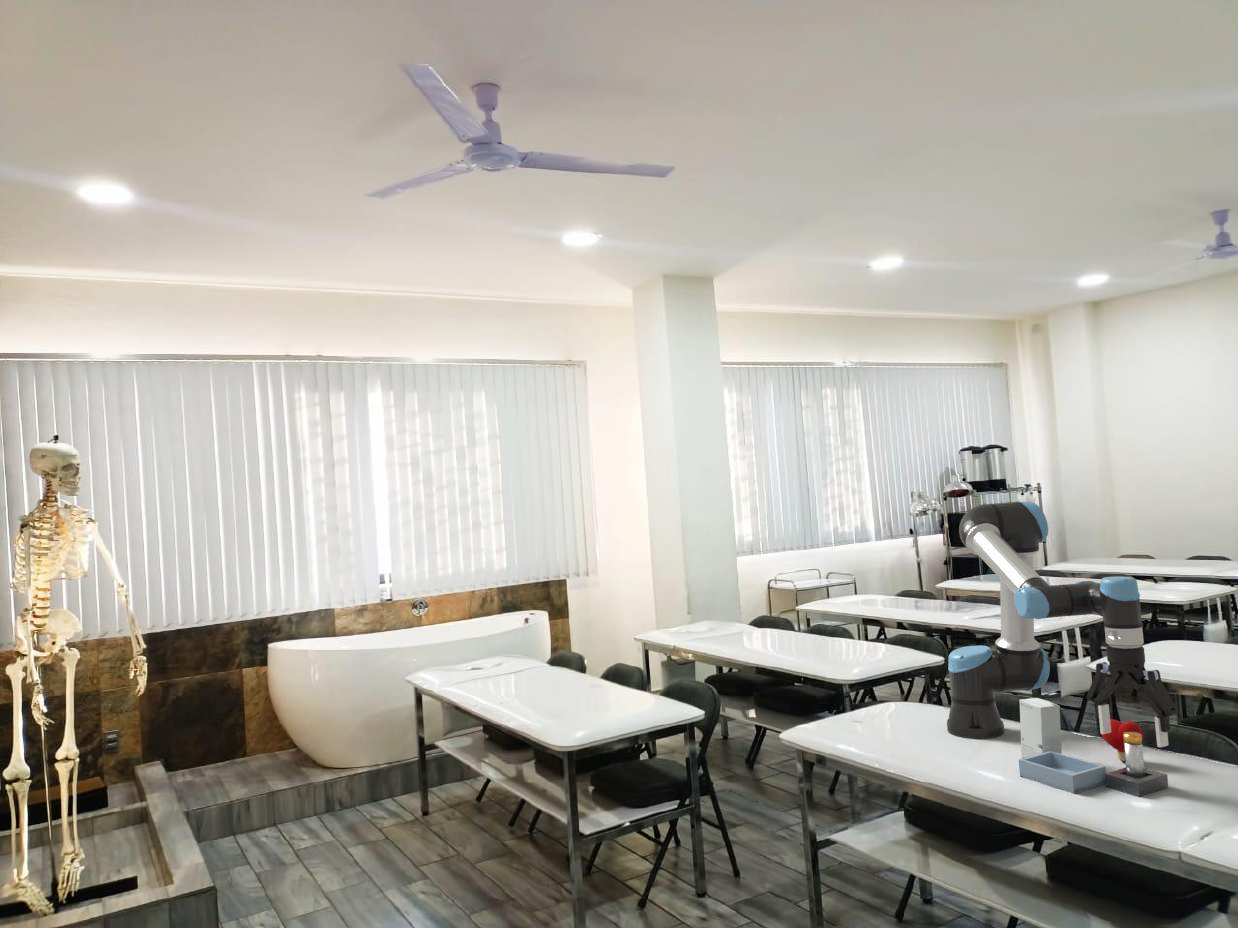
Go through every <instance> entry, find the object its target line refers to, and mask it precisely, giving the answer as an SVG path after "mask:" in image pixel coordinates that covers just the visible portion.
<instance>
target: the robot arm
mask: <svg viewBox="0 0 1238 928" xmlns="http://www.w3.org/2000/svg"><path fill="white" fill-rule="evenodd" d="M1048 524H1049V523H1048V521H1047V517H1046V515H1045V513H1044V511H1043V509H1041V507H1040V506H1039V505H1038V504H1037V503H1035V502H1033V501H1032V502H1031V501H1018V500H1017V501H1009V502H1008V501H1007V502H997V503H986V504H985V503H984V504H978V505H975V506H974V507H972V508H970V509H969V510H968V511H966V512H965V513H964V515H963V516H962V518H961V520H960V522H959V527H958V532H959V538H960V540H961V542H962V544H963V545H964V547H965V548H966V549H967V550H968V551H969V552H970V553H971V554H974V555H977V556H979V557H980V558H981V559H982V561H983V562H984V563H985V564H986V565H987V566H988V567H989V568H990V569H991V570H992V572H993V573H995V575H997V577H998V578H999V584H1000V587H999V589H1000V591H999V593H1000V637H998V638H997V639H996V640H995V644H994V645H995V649H993V650H992V649H991V647H990V646H986V645H968V646H963V647H958V648H955V649H954V650H952V651H951V652H950V654H949V655H948V666H947V668H948V675H949V686H950V687H949V688H950V696H951V697H950V699H951V705H950V709H949V713H948V718H947V720H946V728H947V729H946V731H947V732H949V734H952V735H954V736H958V737H961V738H969V739H989V738H990V739H991V738H996V737H1000V736H1002V735H1004V734H1005V724H1004V721H1003V720H1002V718H1001V715H1000V712H999V710H998V707H997V704H996V696H995V695H996V694H995V693H1005V692H1017V691H1018V692H1019V691H1031V690H1036V689H1039V688H1042V687H1043V686H1044V685H1045V684H1046V683H1047V682H1048V679H1049V676H1050V671H1051V670H1050V669H1051V667H1050V661H1049V660H1048V659H1049V658H1048V655H1047V652H1046V651H1045V650H1044V649H1043V648H1042V647H1041V644H1040V642H1039V641H1037V640H1036V639H1035V620H1044V619H1051V618H1052V619H1053V618H1061V617H1074V616H1076V617H1078V616H1087V615H1097V616H1102V617H1103V626H1104V635H1105V643H1106V644H1107V646H1106V647H1105V648H1106V658H1107V662H1105V661H1104V662H1097V663H1096V665H1095V673H1094V674H1095V675H1094V676H1093V679H1092V680H1091V681H1092V682H1091V685H1090V687H1089V689H1088V692H1087V695H1086V700H1087V701H1088V702H1090V701H1091V702H1092V703H1093V704H1094V707H1095V712H1096V713H1095V715H1096V718H1097V719H1098V720H1099V731H1100V734H1101V735H1102V734H1107V733H1111V724H1110V720H1111V715H1110V704H1108V703H1107V700H1109V698H1110V697H1111V696H1112V694H1113V693H1114V692H1115V690H1116V689H1117V688H1118V687H1127V688H1130V689H1134V690H1136V691H1137V692H1139V693H1140V695H1141V696H1142V697H1143V699H1144V700H1146V702H1147V704H1148V705H1149V706H1150V707H1151V708H1152V709H1153V711H1154V713H1156V715H1157V716H1154V726H1155V736H1156V746H1157V747H1158V748H1164V747H1167V746H1169V735H1168V732H1170V731H1171V723H1170V717H1171V716H1175V715H1178V713H1179V711H1178V709H1177V707H1176V705H1175V703H1174V702H1173V699H1172V698H1171V696H1170V694H1169V692H1168V690H1167V688H1166V687H1165V685H1164V683H1163V681H1162V677H1161V672H1160V671H1159V670H1158V669H1153V670H1146V668H1145V663H1146V654H1145V648H1144V646H1142V645H1143V644H1144V641H1145V640H1144V632H1143V625H1142V623H1143V622H1142V612H1141V598H1140V597H1141V593H1140V592H1139V585H1138V581H1137V579H1136V578H1134V577H1131V576H1121V575H1120V576H1118V575H1117V576H1105V577H1102V578H1101V579H1100V582H1096V581H1093V580H1081V581H1077V582H1075V583H1069V584H1055V585H1051V584H1049V583H1048V582H1047V581H1046V580H1045V579H1043V578H1042V577H1041V576H1040V575H1039V573H1037V571H1036V570H1035V569H1034V556H1035V555H1036V554H1038V552H1039V551H1040V544H1041V543H1043V542H1044V541H1046V540H1047V537H1048V536H1049V525H1048ZM1108 673H1109V674H1110V675H1111V676H1110V678H1109V679H1108V681H1107V682H1106V685H1104V683H1105V680H1106V679H1107V676H1108ZM1147 680H1148V681H1147ZM1103 686H1104V687H1103Z"/></svg>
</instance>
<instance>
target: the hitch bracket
mask: <svg viewBox="0 0 1238 928" xmlns="http://www.w3.org/2000/svg"><path fill="white" fill-rule="evenodd" d="M1144 770H1145V777H1144V778H1140V779H1137V778H1134V777H1130V776H1127V772H1126V767H1123V768H1120V769H1117V770H1116V769H1115V770H1113V771H1109V772H1106V773H1105V783H1106V784H1105V787H1106V788H1108V789H1111V790H1115V791H1119V792H1122V793H1126V794H1128V795H1131V796H1134V797H1138V798H1141V797H1143V796H1147V795H1150V794H1153V793H1156V792H1159V791H1162V790H1166V789H1168V788H1169V779H1168V774H1167V773H1164V772H1161V771H1156V770H1153V769H1150V768H1145V767H1144Z"/></svg>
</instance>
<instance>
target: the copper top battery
mask: <svg viewBox="0 0 1238 928" xmlns="http://www.w3.org/2000/svg"><path fill="white" fill-rule="evenodd" d="M1123 737H1124V749H1125V761H1126V762H1125V768H1126V772H1127V776H1130V777H1134V778H1137V779H1140V778H1144V777H1145V770H1144V768H1145V759H1144V749H1143V741H1142V735H1141V734H1140V733H1136V732H1125V733H1123Z"/></svg>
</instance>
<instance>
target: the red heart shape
mask: <svg viewBox="0 0 1238 928" xmlns="http://www.w3.org/2000/svg"><path fill="white" fill-rule="evenodd" d="M1110 724H1111V733H1107V734H1101V736H1102V738H1103V740H1104V742H1106V743H1107V744H1108V745H1109V746H1111V747H1112V748H1113V749H1114V750H1116V753H1117V759H1118V760H1120V761H1121V762H1122V763H1126V761H1125V749H1124V737H1123V733H1125V732H1136V733H1140V734H1141V735H1142V742H1143V741H1144V732H1143V730H1142V728H1141V727H1140V725H1138V724H1137V723H1136V722H1134V721H1126V722H1122V721H1119V720H1117V719H1113V718H1112V719H1111V718H1110Z"/></svg>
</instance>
